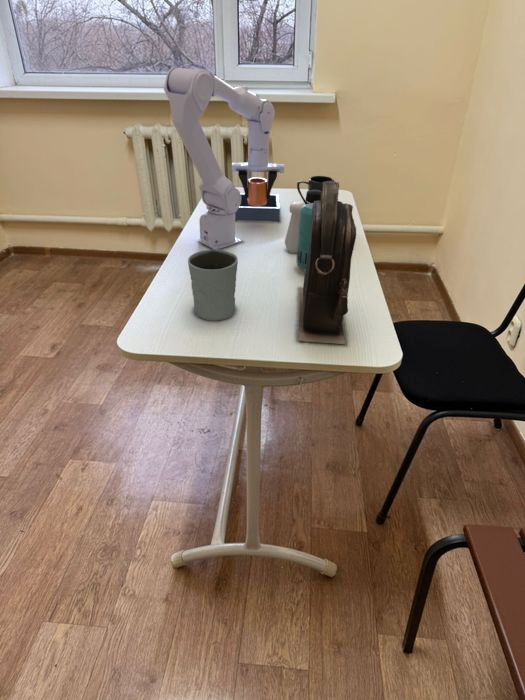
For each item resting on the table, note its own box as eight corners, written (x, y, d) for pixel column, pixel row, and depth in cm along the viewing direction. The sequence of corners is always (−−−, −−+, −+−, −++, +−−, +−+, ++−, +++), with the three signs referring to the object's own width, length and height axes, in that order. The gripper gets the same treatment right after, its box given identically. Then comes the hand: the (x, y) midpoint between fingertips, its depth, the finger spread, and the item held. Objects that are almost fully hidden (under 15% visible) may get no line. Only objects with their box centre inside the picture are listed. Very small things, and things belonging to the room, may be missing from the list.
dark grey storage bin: (279, 222, 147) (279, 208, 144) (235, 221, 146) (235, 207, 144) (277, 207, 158) (278, 194, 155) (237, 206, 157) (237, 193, 155)
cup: (256, 207, 135) (256, 184, 131) (243, 202, 139) (244, 179, 135) (270, 203, 138) (271, 181, 134) (258, 198, 142) (258, 176, 138)
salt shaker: (305, 255, 127) (309, 207, 120) (284, 254, 127) (287, 206, 120) (304, 246, 132) (308, 200, 125) (284, 245, 132) (286, 199, 125)
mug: (294, 204, 161) (295, 175, 156) (328, 204, 162) (331, 175, 156) (296, 212, 154) (298, 182, 149) (333, 212, 155) (336, 183, 150)
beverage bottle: (322, 266, 122) (331, 188, 110) (318, 278, 117) (327, 197, 105) (298, 263, 123) (304, 185, 111) (292, 274, 118) (298, 193, 106)
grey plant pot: (195, 324, 98) (192, 272, 91) (187, 301, 106) (184, 251, 99) (243, 318, 100) (243, 266, 93) (232, 296, 108) (231, 246, 101)
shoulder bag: (299, 288, 112) (310, 165, 96) (338, 290, 112) (355, 167, 95) (298, 342, 94) (311, 201, 77) (344, 345, 93) (367, 204, 77)
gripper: (284, 145, 133) (281, 193, 141) (232, 143, 133) (233, 192, 141) (285, 151, 127) (282, 201, 135) (231, 149, 127) (231, 200, 135)
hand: (257, 197), depth 137 cm, fingers closed on cup, 5 cm apart
